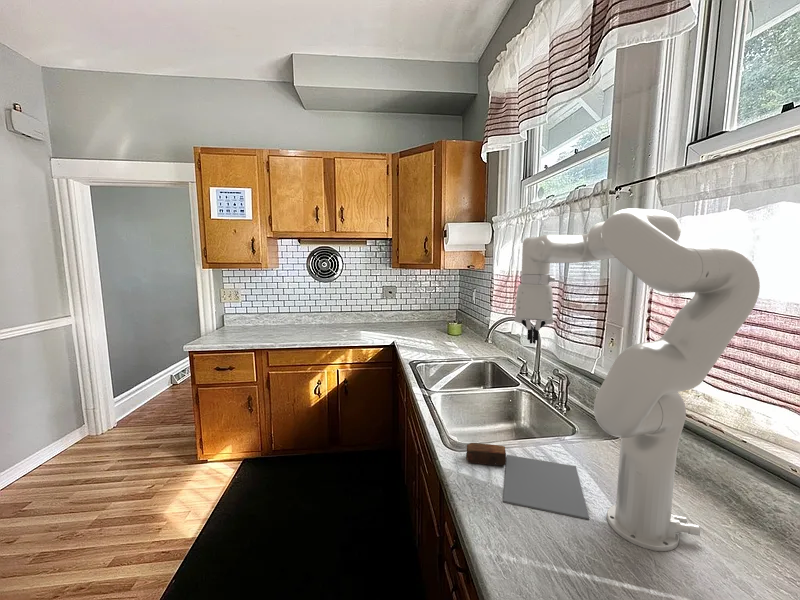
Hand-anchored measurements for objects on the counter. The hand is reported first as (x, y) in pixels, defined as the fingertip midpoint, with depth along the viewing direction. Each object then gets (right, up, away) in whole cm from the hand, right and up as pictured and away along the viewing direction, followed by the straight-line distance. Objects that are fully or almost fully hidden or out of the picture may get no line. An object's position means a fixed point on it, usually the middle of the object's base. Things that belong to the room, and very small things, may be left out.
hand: (532, 342), depth 106 cm
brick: (-18, -29, -8) cm, 35 cm away
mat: (-3, -34, -15) cm, 37 cm away
